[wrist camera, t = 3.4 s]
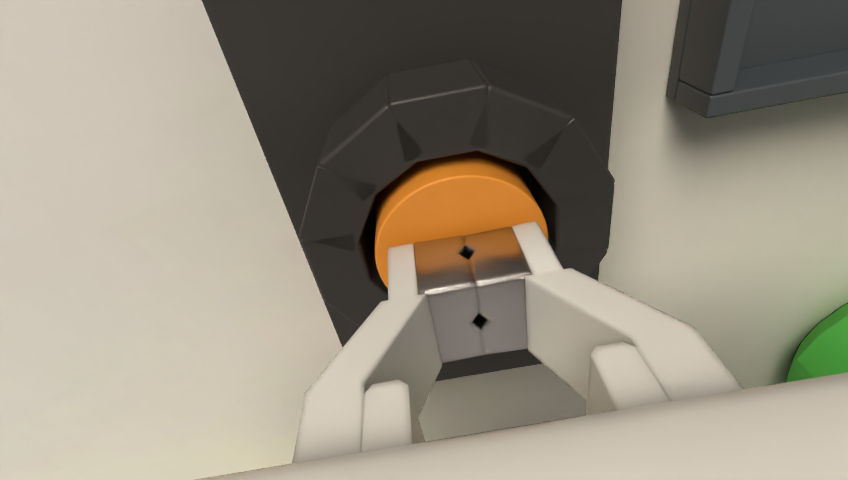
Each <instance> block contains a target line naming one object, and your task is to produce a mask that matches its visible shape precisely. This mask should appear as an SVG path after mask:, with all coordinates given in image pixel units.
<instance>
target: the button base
mask: <svg viewBox="0 0 848 480" xmlns="http://www.w3.org/2000/svg"><path fill="white" fill-rule="evenodd" d="M202 2H203V4H204V7H205V9H206V12H207V14H208V17H209V19H210V22H211V24H212V27H213V29H214V31H215V34H216V36H217V39H218V41H219V44H220V46H221V49H222V51H223V54H224V56H225V59H226V61H227V64H228V66H229V68H230V71H231V73H232V76H233V78H234V81H235V83H236V86H237V88H238V91H239V93H240V96H241V98H242V100H243V103H244V105H245V108H246V110H247V113H248V115H249V118H250V120H251V123H252V125H253V128H254V130H255V133H256V135H257V137H258V140H259V142H260V145H261V147H262V150H263V152H264V155H265V157H266V160H267V162H268V165H269V167H270V169H271V172H272V174H273V177H274V179H275V182H276V184H277V187H278V189H279V192H280V194H281V197H282V199H283V202H284V204H285V206H286V209H287V211H288V214H289V216H290V219H291V221H292V224H293V226H294V229H295V231H296V234H297V236H298V239H299V241H300V243H301V246H302V248H303V251H304V253H305V256H306V258H307V261H308V263H309V266H310V268H311V271H312V273H313V275H314V278H315V280H316V283H317V285H318V288H319V290H320V293H321V295H322V298H323V300H324V303H325V305H326V308H327V310H328V312H329V315H330V317H331V320H332V322H333V325H334V327H335V330H336V332H337V335H338V337H339V340H340V342H341V344H342V347H344V345H345V344H346V343H347V342H348V341H349V339H350V338H351V337H352V336H353V335H354V333H355V332H356V331H357V330H358V329H359V327H360V326H361V325H362V324H363V322H364V321H365V320H366V319H367V318H368V316H369V315H370V314H371V313H372V312H373V310H374V309H375V308H376V307H377V306H378V304H379V303H380V302H381V301H386V300H388V288H387V287H386V286H385V284H384V282H383V281H382V279H381V277H380V275H379V272H378V270H377V266H376V261H375V228H376V201H377V194H378V193H379V192H380V191H381V190H383V189H384V188H385V187H386V186H388V185H389V184H390V183H391V182H393V181H394V180H395V179H396V178H398V177H399V176H400V175H401V174H403V173H404V172H405V171H406V170H408V169H409V168H410V167H411V166H413V165H414V164H415V163H416V162H419V161H425V160H430V159H436V158H441V157H447V156H452V155H457V154H463V153H468V152H474V151H479V152H482V153H485V154H488V155H491V156H494V157H497V158H500V159H503V160H506V161H509V162H512V163H514V165H515V166H516V168H517V169H518V171H519V173H520V175H521V176H522V178H523V180H524V182H525V183H526V185H527V187H528V189H529V190H530V192H531V194H532V196H533V197H534V199H535V201H536V203H537V204H538V206H539V208H540V210H541V211H542V214H543V216H544V218H545V221H546V225H547V229H548V242H549V244H550V246H551V247H552V249H553V251H554V253H555V255H556V257H557V258H558V260H559V262H560V264H561V266H562V267H563V269H568V268H572V269H574V270H576V271H578V272H580V273H582V274H584V275H587V276H589V277H591V278H593V279H595V280H597V281H598V275H599V264H600V261H601V260H602V259H603V257H604V256H605V255H606V253H607V249H608V245H609V235H610V224H611V214H612V204H613V194H614V182H615V181H614V178H613V176H612V175H611V173H610V171H609V170H608V158H609V147H610V135H611V123H612V111H613V100H614V88H615V76H616V65H617V53H618V41H619V29H620V18H621V6H622V0H202ZM536 364H542V362H541V361H540V360H538V359H537V358H536V357H535V356H534V355H533V354H532V353H530V352H529V351H528V349H521V350H514V351H507V352H500V353H493V354H486V355H481V356H476V357H471V358H465V359H460V360H455V361H450V362H445V363H442V367H441V369H440V371H439V374H438V376H437V378H436V380H435V381H440V380H446V379H452V378H458V377H464V376H470V375H476V374H482V373H488V372H494V371H500V370H506V369H512V368H518V367H524V366H530V365H536Z"/></svg>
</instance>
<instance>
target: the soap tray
mask: <svg viewBox="0 0 848 480" xmlns="http://www.w3.org/2000/svg"><path fill="white" fill-rule="evenodd" d="M846 92H848V0H681V2H680V9H679V15H678V22H677V28H676V35H675V41H674V48H673V54H672V61H671V67H670V74H669V80H668V87H667V93H666V95H667V97H669V98H671V99H673V100H675V101H677V102H678V103H680V104H682V105H684V106H685V107H687V108H689V109H691V110H693V111H694V112H696V113H698V114H700V115H701V116H703V117H705V118H710V117H716V116H721V115H727V114H732V113H737V112H743V111H748V110H754V109H759V108H765V107H770V106H775V105H781V104H786V103H792V102H797V101H803V100H808V99H813V98H819V97H824V96H830V95H835V94H841V93H846Z"/></svg>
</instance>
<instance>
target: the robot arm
mask: <svg viewBox="0 0 848 480" xmlns="http://www.w3.org/2000/svg"><path fill="white" fill-rule="evenodd" d="M521 349H528V351H529V352H530V353H532V354H533V355H534V356H535V357H536V358H537V359H538V360H540V361H541V362H542V363H543V364H544V365H545V366H547V367H548V368H549V369H550V370H551V371H552V372H553V373H555V374H556V375H557V376H558V377H559V378H560V379H562V380H563V381H564V382H565V383H566V384H567V385H568V386H570V387H571V388H572V389H573V390H574V391H575V392H576V393H578V394H579V395H580V396H581V397H582V398H583V399H585V400H586V401H587V407H586V415H585V416H579V417H573V418H567V419H561V420H555V421H549V422H543V423H537V424H531V425H525V426H518V427H512V428H506V429H500V430H494V431H488V432H482V433H476V434H470V435H464V436H457V437H451V438H445V439H439V440H433V441H427V442H425V440H424V436H423V433H422V430H421V426H420V423H419V419H418V416H419V414H420V412H421V410H422V407H423V405H424V403H425V401H426V399H427V397H428V395H429V393H430V391H431V388H432V386H433V384H434V382H435V380H436V378H437V376H438V374H439V371H440V369H441V367H442V363H445V362H450V361H455V360H460V359H465V358H471V357H476V356H481V355H486V354H493V353H500V352H507V351H514V350H521ZM196 480H848V372H847V373H841V374H835V375H829V376H822V377H816V378H810V379H804V380H798V381H792V382H786V383H780V384H774V385H768V386H761V387H755V388H749V389H743V388H742V387H741V385H740V384H739V383H738V382H737V380H736V379H735V378H734V377H733V375H732V374H731V373H730V372H729V370H728V369H727V368H726V367H725V365H724V364H723V363H722V362H721V360H720V359H719V358H718V357H717V355H716V354H715V353H714V352H713V350H712V349H711V348H710V347H709V345H708V344H707V343H706V342H705V340H704V339H703V338H702V337H701V335H700V334H699V333H698V331H697V330H696V329H695V328H694V327H692V326H690V325H688V324H686V323H683V322H681V321H679V320H677V319H675V318H673V317H671V316H669V315H667V314H665V313H663V312H661V311H659V310H657V309H655V308H653V307H650V306H648V305H646V304H644V303H642V302H640V301H638V300H636V299H634V298H632V297H630V296H628V295H626V294H624V293H622V292H620V291H617V290H615V289H613V288H611V287H609V286H607V285H605V284H603V283H601V282H599V281H597V280H595V279H593V278H591V277H589V276H587V275H584V274H582V273H580V272H578V271H576V270H574V269H572V268H568V269H563V267H562V266H561V264H560V262H559V260H558V258H557V257H556V255H555V253H554V251H553V249H552V247H551V246H550V244H549V242H548V240H547V238H546V237H545V235H544V233H543V231H542V229H541V228H540V226H539V224H538V222H536V221H531V222H526V223H521V224H517V225H512V226H510V227H505V228H499V229H494V230H489V231H484V232H479V233H474V234H469V235H464V236H462V235H460V236H454V237H447V238H441V239H435V240H429V241H422V242H416V243H414V244H413V243H410V244H404V245H399V246H393V247H389V250H388V300H386V301H381V302H380V303H379V304H378V306H377V307H376V308H375V309H374V310H373V312H372V313H371V314H370V315H369V316H368V318H367V319H366V320H365V321H364V322H363V324H362V325H361V326H360V327H359V329H358V330H357V331H356V332H355V333H354V335H353V336H352V337H351V338H350V339H349V341H348V342H347V343H346V344H345V345H344V347H343V348H342V349H341V350H340V351H339V353H338V354H337V355H336V356H335V357H334V359H333V360H332V361H331V362H330V364H329V365H328V366H327V367H326V368H325V370H324V371H323V372H322V373H321V374H320V376H319V377H318V378H317V379H316V380H315V382H314V383H313V384H312V385H311V386H310V388H309V389H308V390H307V391H306V392H305V396H304V401H303V407H302V412H301V418H300V423H299V429H298V434H297V440H296V445H295V451H294V456H293V461H292V464H287V465H281V466H275V467H269V468H263V469H257V470H251V471H244V472H238V473H232V474H226V475H220V476H214V477H208V478H202V479H196Z"/></svg>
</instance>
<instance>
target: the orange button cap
mask: <svg viewBox="0 0 848 480" xmlns="http://www.w3.org/2000/svg"><path fill="white" fill-rule="evenodd" d="M531 221H536V222H538V224H539V226H540V228H541V229H542V231H543V233H544V235H545V237H546V238H547V240H548V229H547V225H546V221H545V218H544V216H543V214H542V211H541V210H540V208H539V206H538V204H537V203H536V201H535V199H534V197H533V196H532V194H531V192H530V190H529V189H528V187H527V185H526V183H525V182H524V180H523V178H522V176H521V175H520V173H519V171H518V169H517V168H516V166H515V165H514V163H512V162H509V161H506V160H503V159H500V158H497V157H494V156H491V155H488V154H485V153H482V152H479V151H474V152H468V153H463V154H457V155H452V156H447V157H441V158H436V159H430V160H425V161H419V162H416V163H415V164H414V165H413V166H411V167H410V168H409V169H408V170H406V171H405V172H404V173H403V174H401V175H400V176H399V177H398V178H396V179H395V180H394V181H393V182H391V183H390V184H389V185H388V186H386V187H385V188H384V189H383V190H381V191H380V192H379V193H378V194H377V201H376V228H375V261H376V266H377V270H378V272H379V275H380V277H381V279H382V281H383V282H384V284H385V286H386V287H387V288H388V250H389V247H393V246H399V245H404V244H410V243H413V244H414V243H416V242H422V241H429V240H435V239H441V238H447V237H454V236H460V235H462V236H464V235H469V234H474V233H479V232H484V231H489V230H494V229H499V228H505V227H510V226H512V225H517V224H521V223H526V222H531Z"/></svg>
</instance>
